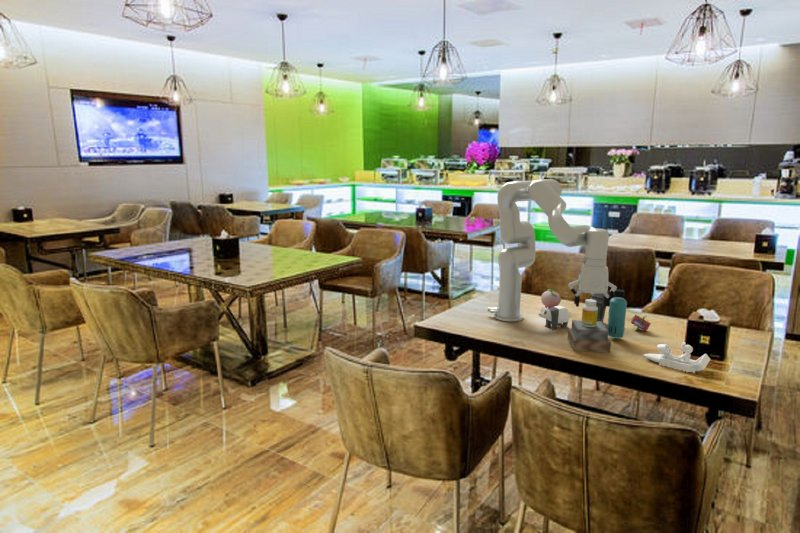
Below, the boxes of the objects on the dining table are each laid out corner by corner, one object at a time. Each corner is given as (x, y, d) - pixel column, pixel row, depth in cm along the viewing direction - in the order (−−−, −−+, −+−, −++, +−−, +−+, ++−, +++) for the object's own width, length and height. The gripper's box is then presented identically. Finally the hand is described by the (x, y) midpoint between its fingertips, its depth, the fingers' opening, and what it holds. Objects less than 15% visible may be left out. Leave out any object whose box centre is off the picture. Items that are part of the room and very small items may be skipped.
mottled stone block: (573, 350, 194) (575, 330, 192) (567, 338, 207) (569, 319, 205) (609, 352, 192) (612, 331, 191) (601, 340, 205) (603, 320, 203)
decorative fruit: (536, 307, 248) (537, 286, 246) (551, 305, 251) (553, 285, 249) (547, 312, 240) (549, 291, 237) (563, 311, 242) (564, 290, 240)
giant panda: (561, 323, 225) (562, 301, 223) (570, 326, 221) (572, 305, 218) (533, 327, 219) (535, 305, 217) (542, 331, 215) (544, 309, 212)
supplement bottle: (594, 328, 194) (597, 303, 192) (579, 325, 197) (581, 301, 195) (597, 324, 199) (600, 299, 197) (583, 322, 202) (585, 297, 200)
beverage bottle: (623, 337, 209) (628, 288, 204) (624, 342, 203) (629, 292, 198) (605, 335, 211) (610, 287, 206) (606, 340, 205) (610, 291, 200)
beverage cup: (603, 319, 230) (607, 275, 226) (608, 324, 223) (612, 279, 219) (586, 318, 231) (590, 275, 227) (590, 324, 224) (594, 279, 220)
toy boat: (647, 354, 192) (650, 331, 190) (709, 368, 179) (713, 344, 177) (638, 363, 183) (641, 339, 181) (703, 379, 171) (706, 353, 169)
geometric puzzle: (656, 326, 215) (646, 309, 217) (651, 330, 210) (640, 312, 212) (641, 333, 220) (631, 316, 222) (635, 337, 215) (624, 319, 217)
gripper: (572, 263, 190) (568, 308, 194) (622, 265, 188) (616, 311, 192) (569, 258, 197) (564, 302, 201) (616, 261, 195) (611, 304, 199)
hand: (590, 306), depth 197 cm, fingers open, 9 cm apart
